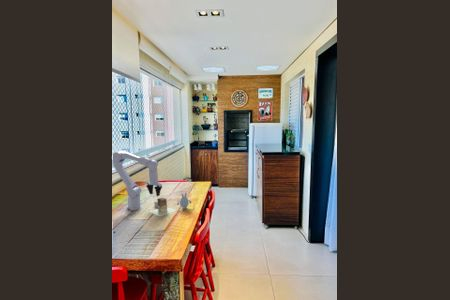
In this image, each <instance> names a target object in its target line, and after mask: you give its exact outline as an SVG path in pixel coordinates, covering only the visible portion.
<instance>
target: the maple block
mask: <svg viewBox="0 0 450 300" xmlns="http://www.w3.org/2000/svg"><path fill="white" fill-rule="evenodd" d="M167 207H168V205H165V206H162V207H161V206H158V207H157V209H158V211H159V212H161V213H163V212H166V211H167Z"/></svg>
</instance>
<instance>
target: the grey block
mask: <svg viewBox="0 0 450 300" xmlns="http://www.w3.org/2000/svg"><path fill="white" fill-rule="evenodd" d="M153 203H154V207H155V208H158V202H157V200H154V202H153Z"/></svg>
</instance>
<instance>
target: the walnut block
mask: <svg viewBox="0 0 450 300" xmlns="http://www.w3.org/2000/svg"><path fill="white" fill-rule="evenodd" d="M156 201H157V202H158V206H161V207H162V206H165V205H167V204H168V201H167V198H166V197H159V198H157V199H156ZM167 206H168V205H167Z"/></svg>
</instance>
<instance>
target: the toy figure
mask: <svg viewBox="0 0 450 300" xmlns="http://www.w3.org/2000/svg"><path fill="white" fill-rule="evenodd" d="M192 203H193V201H192V200H191V199H190V200H189V199H188V197H187V192H185V193H181V198H180V201H178V202H177V204H176V205H177V206H179V205H180V207H182V208H181V210H187V209H188V206H189V204H192Z"/></svg>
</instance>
